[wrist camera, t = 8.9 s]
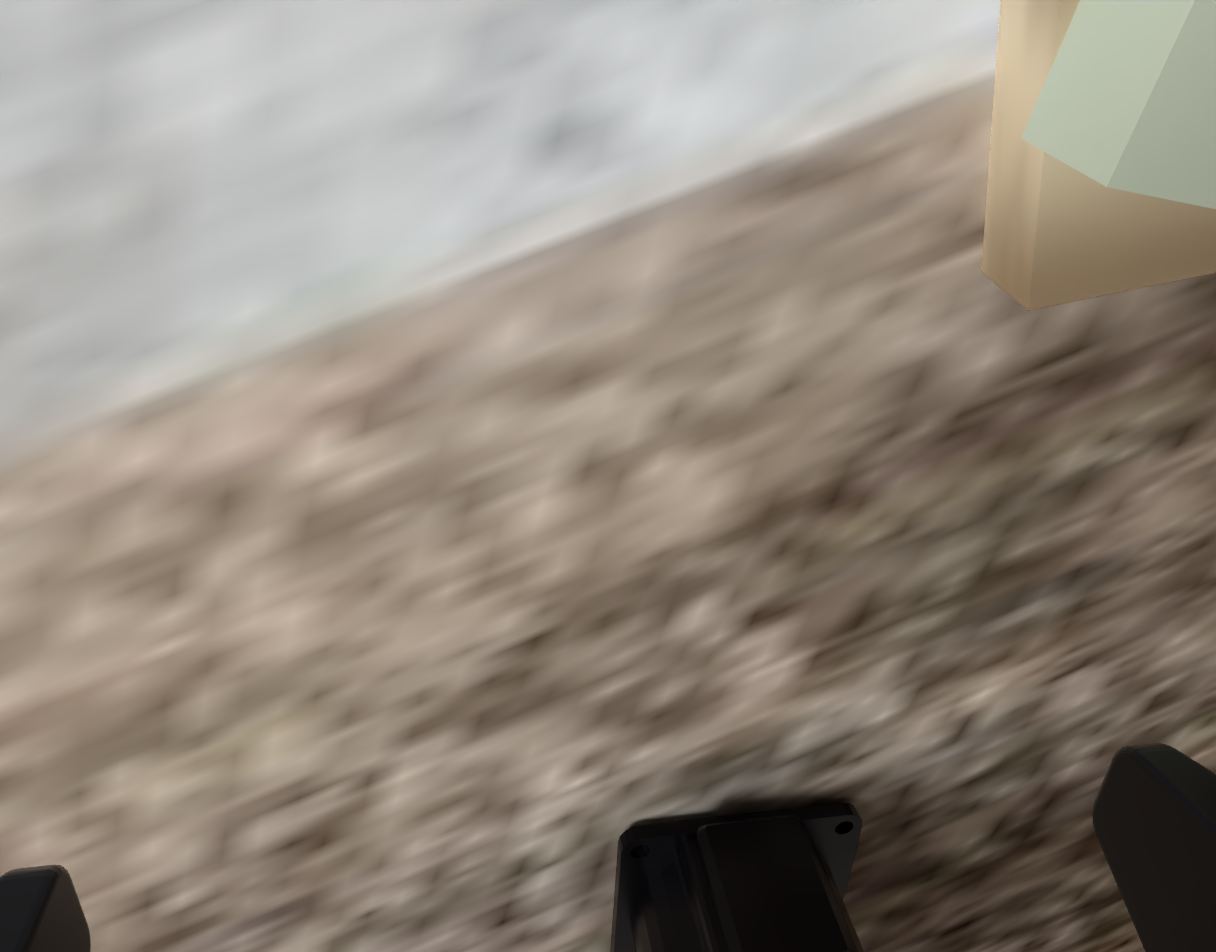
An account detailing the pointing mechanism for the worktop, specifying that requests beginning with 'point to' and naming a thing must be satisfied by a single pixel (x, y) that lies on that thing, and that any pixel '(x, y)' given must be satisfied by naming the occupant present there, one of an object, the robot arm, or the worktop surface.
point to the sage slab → (1135, 98)
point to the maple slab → (1070, 194)
